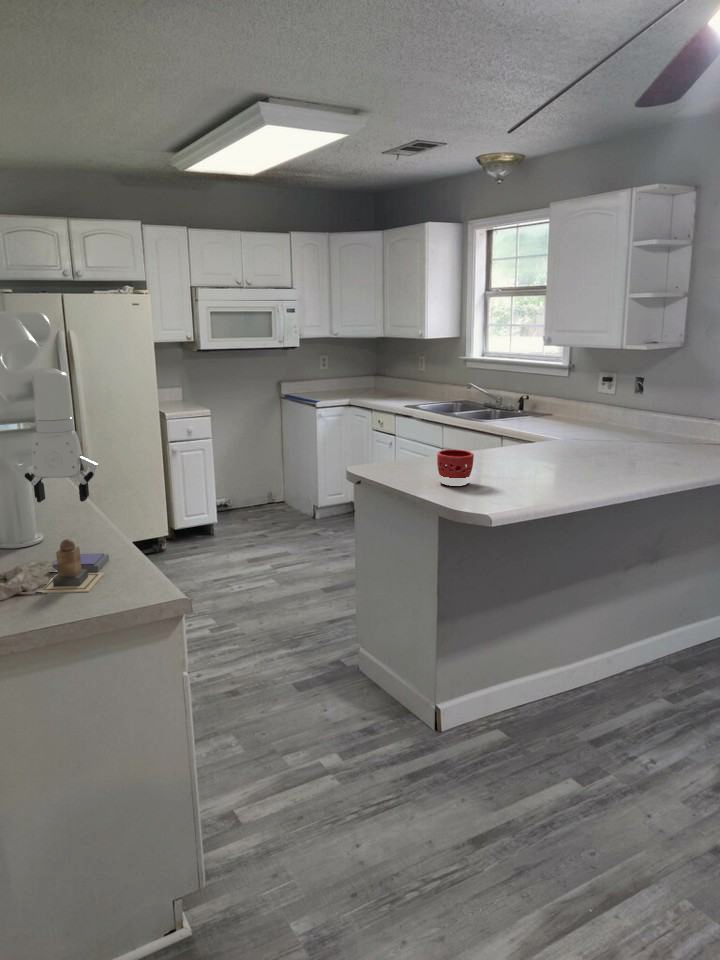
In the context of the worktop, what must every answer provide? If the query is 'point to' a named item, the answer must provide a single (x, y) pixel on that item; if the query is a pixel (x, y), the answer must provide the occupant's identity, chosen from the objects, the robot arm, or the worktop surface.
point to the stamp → (69, 566)
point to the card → (84, 587)
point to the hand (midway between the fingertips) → (62, 500)
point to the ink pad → (90, 561)
